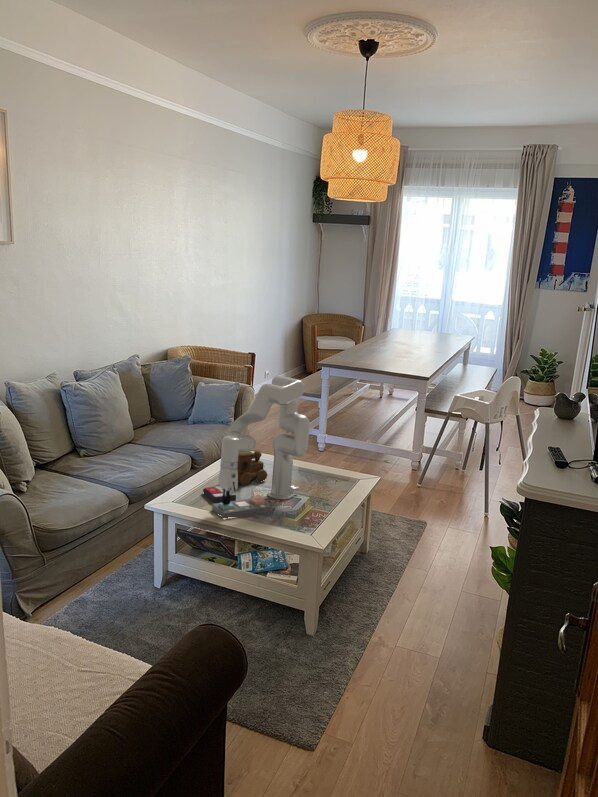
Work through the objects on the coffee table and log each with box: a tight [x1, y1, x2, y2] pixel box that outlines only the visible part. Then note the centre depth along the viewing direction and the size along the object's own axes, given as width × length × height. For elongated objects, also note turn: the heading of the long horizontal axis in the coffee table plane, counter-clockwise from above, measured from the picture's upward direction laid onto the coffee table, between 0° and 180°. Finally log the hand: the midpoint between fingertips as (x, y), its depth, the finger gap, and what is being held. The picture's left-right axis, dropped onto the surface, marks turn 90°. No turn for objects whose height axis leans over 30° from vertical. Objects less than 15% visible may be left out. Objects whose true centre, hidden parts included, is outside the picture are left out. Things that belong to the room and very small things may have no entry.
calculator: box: [202, 485, 237, 504], centre depth 295 cm, size 11×4×15 cm
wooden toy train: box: [237, 449, 268, 486], centre depth 321 cm, size 20×11×17 cm, turn 130°
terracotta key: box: [249, 496, 266, 506], centre depth 284 cm, size 5×5×2 cm
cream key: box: [235, 501, 250, 508], centre depth 280 cm, size 5×5×2 cm
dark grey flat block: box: [211, 498, 273, 519], centre depth 280 cm, size 24×12×3 cm, turn 123°
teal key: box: [219, 503, 234, 511], centre depth 276 cm, size 5×5×2 cm
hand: (225, 503), depth 275 cm, fingers closed
